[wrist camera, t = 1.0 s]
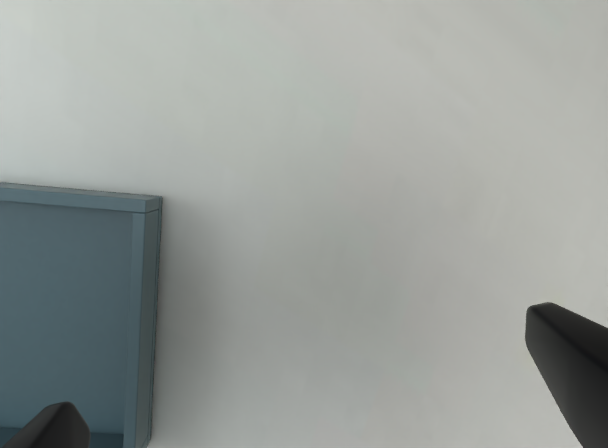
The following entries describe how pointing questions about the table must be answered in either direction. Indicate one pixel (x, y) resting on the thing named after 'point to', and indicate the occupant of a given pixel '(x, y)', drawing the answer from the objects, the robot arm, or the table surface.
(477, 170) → the table surface
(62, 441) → the robot arm
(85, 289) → the tray
